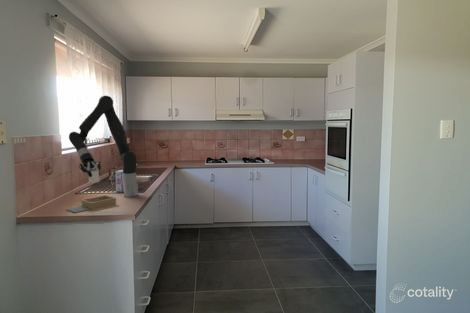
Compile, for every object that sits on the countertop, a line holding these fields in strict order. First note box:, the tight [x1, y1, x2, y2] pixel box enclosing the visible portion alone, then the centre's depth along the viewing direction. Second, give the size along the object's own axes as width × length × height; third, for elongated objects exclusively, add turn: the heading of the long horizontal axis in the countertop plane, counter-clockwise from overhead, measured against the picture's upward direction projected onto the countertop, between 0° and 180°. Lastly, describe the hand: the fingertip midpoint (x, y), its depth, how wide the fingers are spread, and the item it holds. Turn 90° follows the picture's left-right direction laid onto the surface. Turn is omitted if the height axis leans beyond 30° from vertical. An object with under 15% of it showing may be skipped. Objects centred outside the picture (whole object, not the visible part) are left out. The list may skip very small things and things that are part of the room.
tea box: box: [88, 168, 100, 184], centre depth 215 cm, size 5×5×8 cm
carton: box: [79, 194, 120, 212], centre depth 219 cm, size 17×22×4 cm
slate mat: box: [66, 205, 90, 214], centre depth 208 cm, size 9×12×1 cm
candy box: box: [114, 169, 124, 193], centre depth 266 cm, size 14×6×16 cm, turn 164°
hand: (95, 175), depth 214 cm, fingers closed on tea box, 4 cm apart
